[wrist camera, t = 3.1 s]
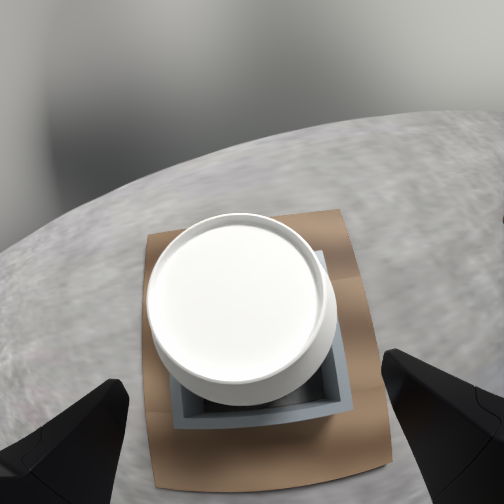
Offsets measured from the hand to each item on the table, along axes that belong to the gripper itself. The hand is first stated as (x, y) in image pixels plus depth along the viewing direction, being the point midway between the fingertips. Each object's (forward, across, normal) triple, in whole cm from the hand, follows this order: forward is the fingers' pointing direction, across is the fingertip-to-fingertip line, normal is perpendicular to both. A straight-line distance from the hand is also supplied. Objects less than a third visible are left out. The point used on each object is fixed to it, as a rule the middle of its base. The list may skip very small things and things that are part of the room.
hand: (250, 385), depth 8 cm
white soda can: (+9, 0, +5) cm, 10 cm away
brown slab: (+8, 0, +5) cm, 10 cm away
